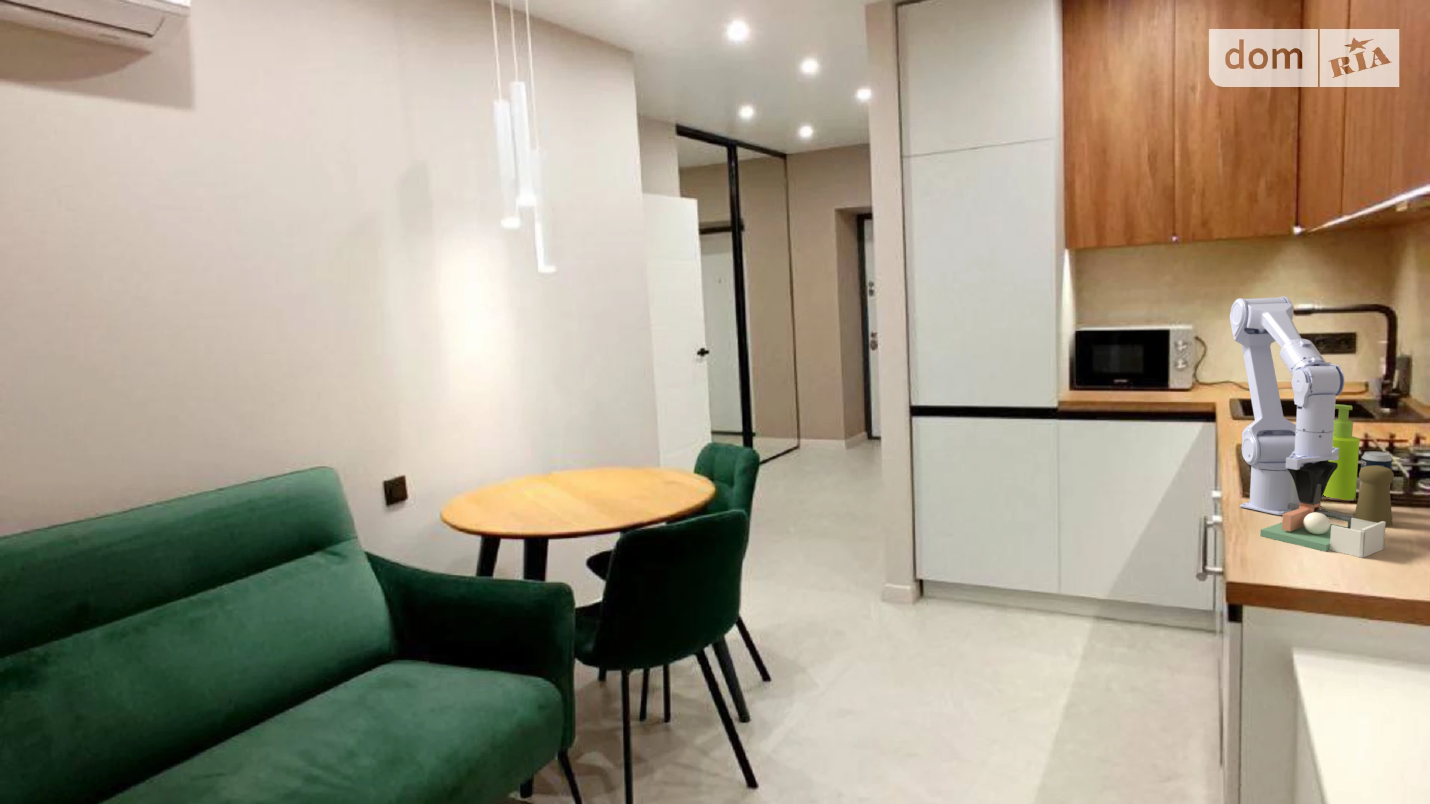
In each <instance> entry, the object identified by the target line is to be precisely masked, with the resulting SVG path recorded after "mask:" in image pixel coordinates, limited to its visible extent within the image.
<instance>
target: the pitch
mask: <svg viewBox="0 0 1430 804" xmlns="http://www.w3.org/2000/svg"><path fill="white" fill-rule="evenodd" d="M1332 525H1334V526H1339V527H1344V528H1348V526H1343V525H1339V524H1336V523H1335V524H1334V523H1330V528H1329V530H1328V531H1327V532H1325V533H1323V534H1312V533H1310V532H1308V531H1307V530H1306V529H1305V527H1301V528H1298V529H1296V530H1293V531H1286V530H1282V521H1281V522H1279V523H1276V524H1272V525H1270V526H1267V527H1264V528H1262V529H1260V537H1264V538H1268V539H1273V540H1277V541H1280V542H1285V543H1290V544H1291V545H1292V544H1293V545H1297V546H1302V547H1305V548H1310V549H1314V550H1317V549H1318V551H1322V552H1328V550H1329V551H1331V550H1330V536H1331V526H1332Z"/></svg>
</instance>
